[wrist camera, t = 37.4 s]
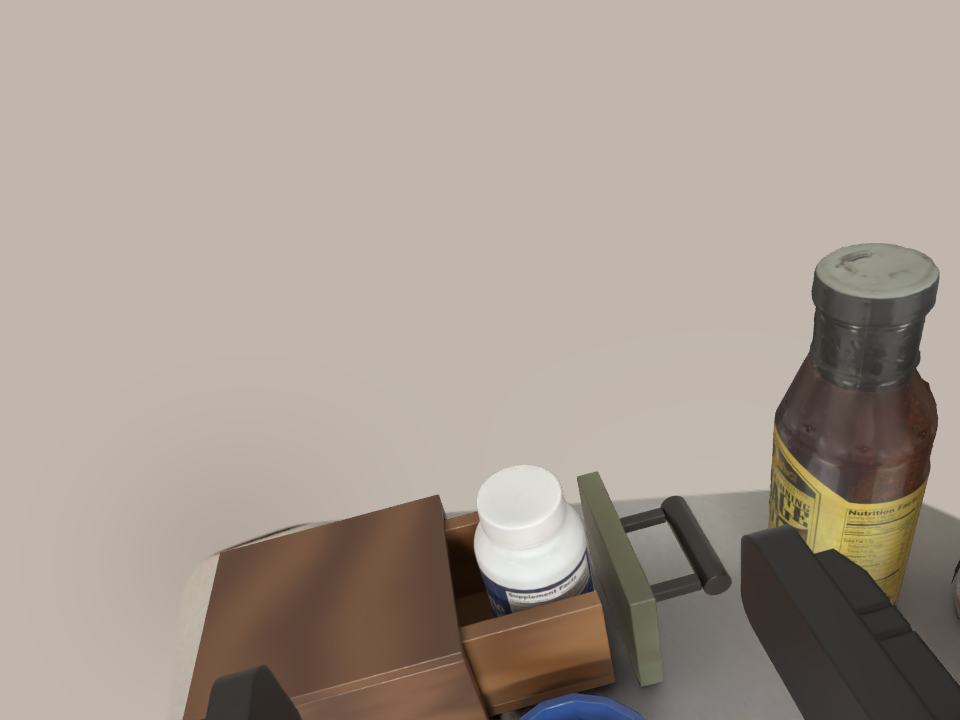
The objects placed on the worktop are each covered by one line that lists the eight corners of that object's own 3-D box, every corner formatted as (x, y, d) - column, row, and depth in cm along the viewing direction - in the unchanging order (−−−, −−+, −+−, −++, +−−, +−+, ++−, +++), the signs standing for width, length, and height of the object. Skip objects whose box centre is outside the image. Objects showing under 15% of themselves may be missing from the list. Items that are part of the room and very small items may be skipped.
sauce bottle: (764, 538, 40) (775, 227, 29) (886, 549, 37) (948, 216, 26) (768, 638, 35) (784, 307, 24) (909, 657, 32) (998, 301, 22)
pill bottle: (497, 589, 38) (459, 464, 33) (591, 574, 38) (567, 445, 33) (503, 678, 34) (460, 550, 28) (609, 662, 33) (586, 529, 28)
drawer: (677, 532, 40) (671, 450, 37) (746, 659, 33) (748, 573, 29) (426, 600, 40) (396, 524, 36) (441, 743, 33) (405, 666, 29)
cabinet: (470, 588, 41) (438, 493, 36) (499, 749, 33) (462, 652, 28) (276, 641, 41) (219, 552, 36) (255, 816, 33) (180, 729, 28)
